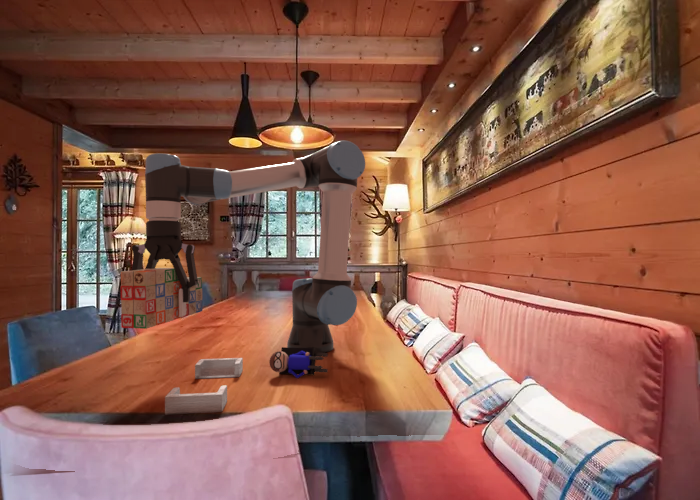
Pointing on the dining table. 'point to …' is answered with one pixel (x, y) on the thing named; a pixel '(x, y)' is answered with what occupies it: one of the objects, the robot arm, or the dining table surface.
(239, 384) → the dining table surface
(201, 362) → the grey piece
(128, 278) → the stack of blocks
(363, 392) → the dining table surface
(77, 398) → the dining table surface
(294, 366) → the character figurine
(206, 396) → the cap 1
